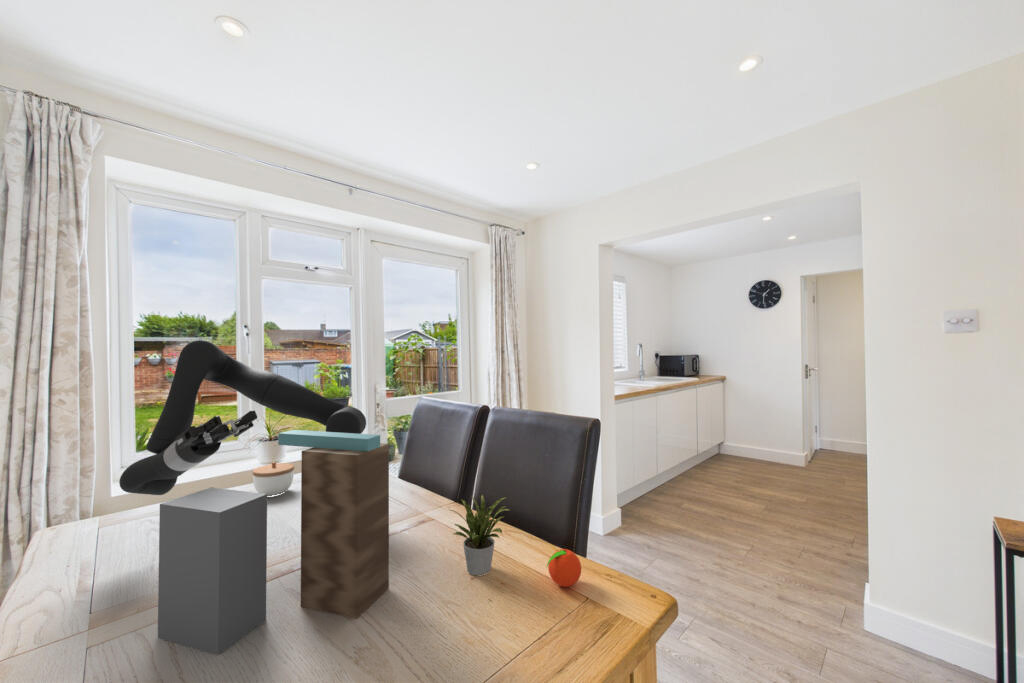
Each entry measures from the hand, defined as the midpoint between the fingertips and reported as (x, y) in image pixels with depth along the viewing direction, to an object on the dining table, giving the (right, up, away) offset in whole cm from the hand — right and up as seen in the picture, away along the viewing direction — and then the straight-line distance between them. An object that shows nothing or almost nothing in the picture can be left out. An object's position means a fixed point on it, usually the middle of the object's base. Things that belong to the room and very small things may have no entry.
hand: (237, 416), depth 92 cm
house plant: (+56, -35, 0) cm, 66 cm away
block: (+24, -5, -8) cm, 26 cm away
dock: (+9, -34, -19) cm, 40 cm away
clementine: (+73, -34, -6) cm, 81 cm away
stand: (+29, -34, -10) cm, 46 cm away
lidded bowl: (-22, -37, +50) cm, 66 cm away
